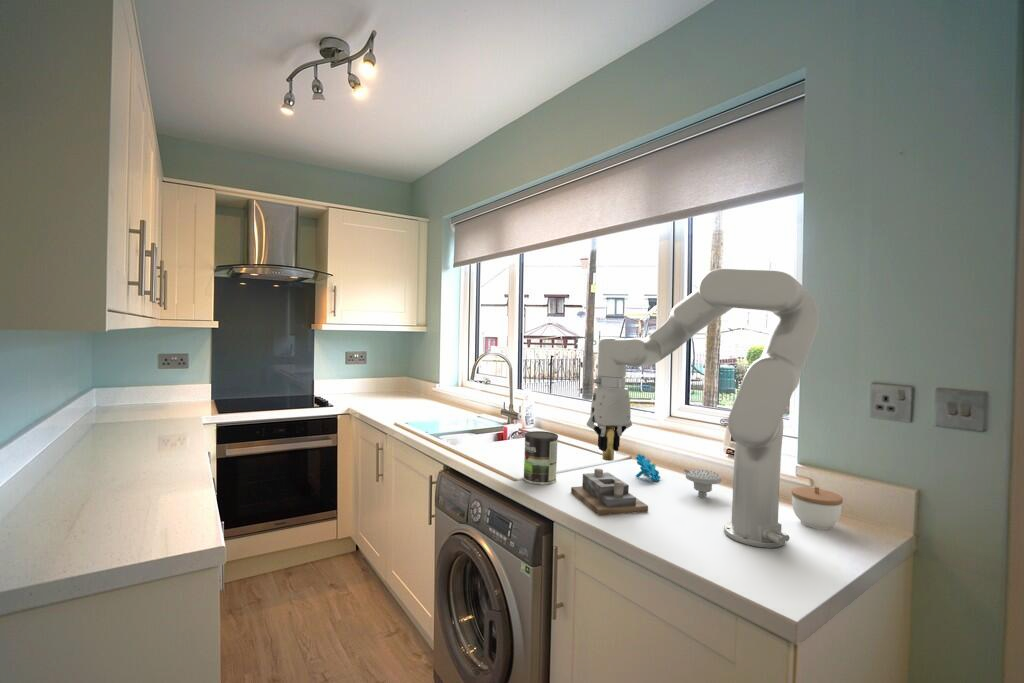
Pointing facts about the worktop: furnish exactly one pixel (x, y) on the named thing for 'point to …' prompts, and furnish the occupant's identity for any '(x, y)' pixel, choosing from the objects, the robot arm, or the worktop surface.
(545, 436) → the coffee can
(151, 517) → the worktop surface
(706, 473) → the showerhead
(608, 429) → the brass pin
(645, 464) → the gear
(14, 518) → the worktop surface
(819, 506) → the lidded jar
